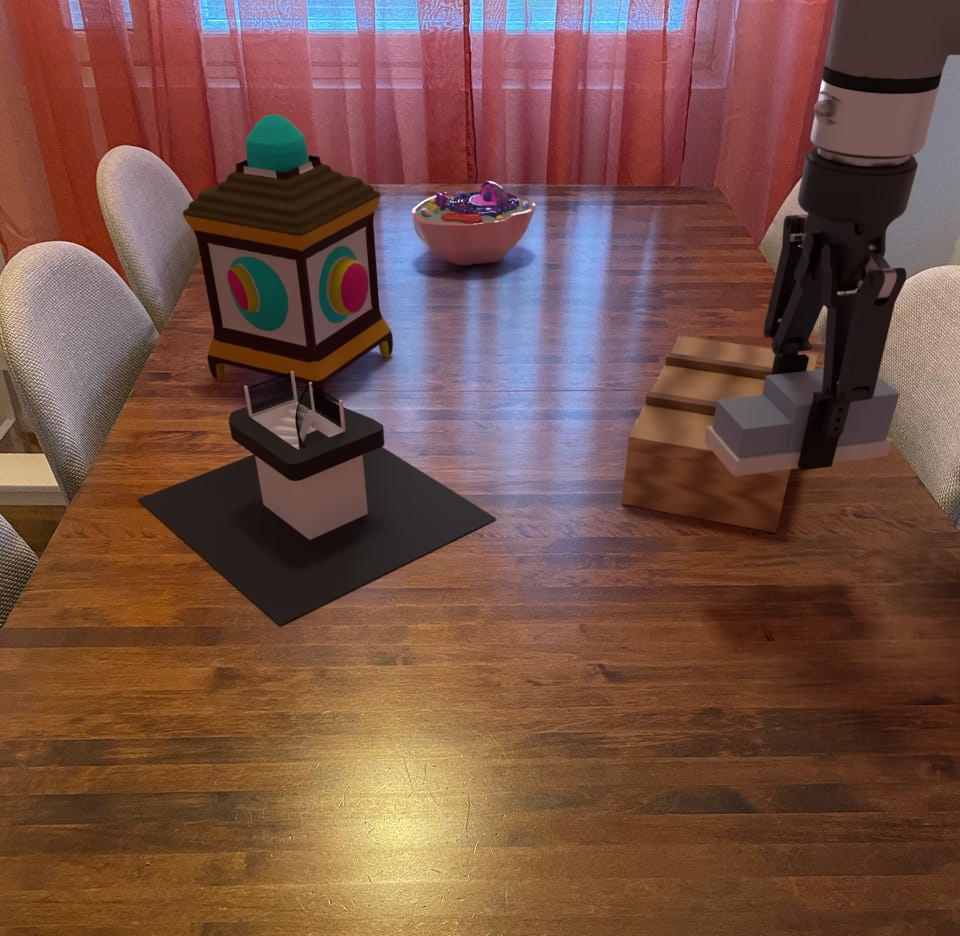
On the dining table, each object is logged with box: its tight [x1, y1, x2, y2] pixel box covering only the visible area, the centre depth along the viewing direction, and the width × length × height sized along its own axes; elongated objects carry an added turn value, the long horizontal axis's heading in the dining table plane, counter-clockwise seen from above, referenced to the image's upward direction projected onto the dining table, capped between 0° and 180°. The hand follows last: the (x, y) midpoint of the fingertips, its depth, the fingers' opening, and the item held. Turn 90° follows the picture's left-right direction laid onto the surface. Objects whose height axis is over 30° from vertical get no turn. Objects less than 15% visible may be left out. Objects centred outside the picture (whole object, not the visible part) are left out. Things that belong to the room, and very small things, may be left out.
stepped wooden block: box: [621, 335, 818, 534], centre depth 108 cm, size 16×26×9 cm, turn 160°
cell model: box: [411, 180, 537, 266], centre depth 155 cm, size 17×20×11 cm
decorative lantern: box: [182, 113, 394, 399], centre depth 119 cm, size 20×20×30 cm
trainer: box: [705, 368, 900, 477], centre depth 81 cm, size 14×6×6 cm, turn 104°
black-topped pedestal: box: [137, 371, 498, 626], centre depth 98 cm, size 28×26×13 cm
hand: (795, 446), depth 83 cm, fingers closed on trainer, 6 cm apart
